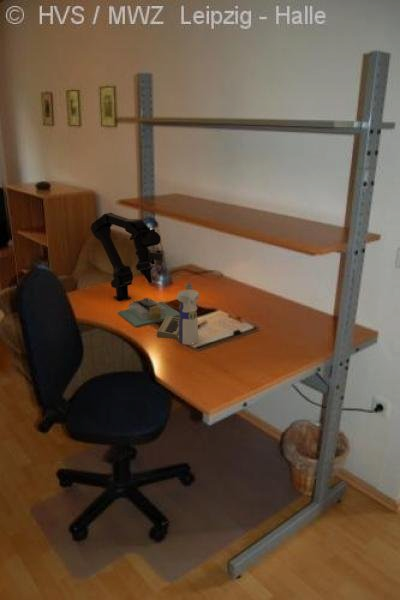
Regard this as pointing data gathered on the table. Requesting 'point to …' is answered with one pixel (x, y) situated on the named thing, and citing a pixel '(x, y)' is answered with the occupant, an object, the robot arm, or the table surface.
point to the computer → (169, 328)
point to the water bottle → (188, 315)
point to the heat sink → (147, 310)
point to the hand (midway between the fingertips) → (150, 282)
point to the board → (138, 322)
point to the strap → (146, 303)
